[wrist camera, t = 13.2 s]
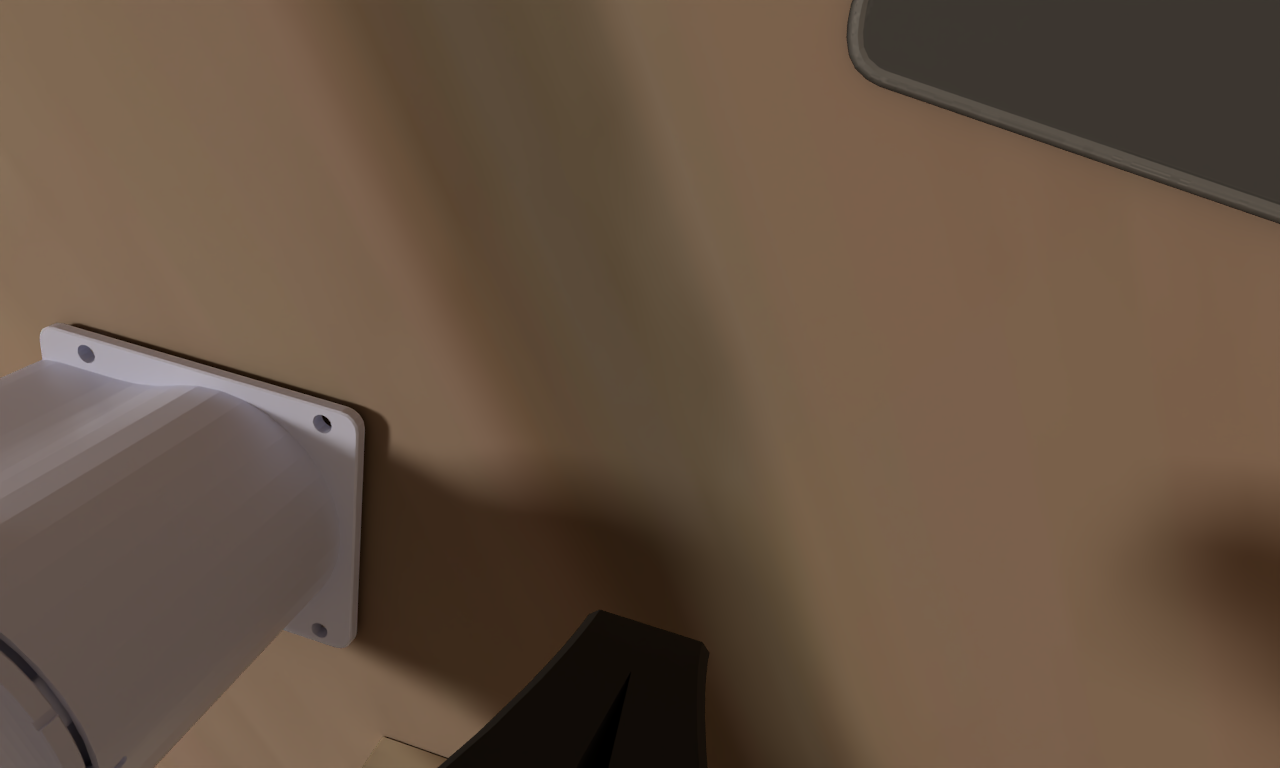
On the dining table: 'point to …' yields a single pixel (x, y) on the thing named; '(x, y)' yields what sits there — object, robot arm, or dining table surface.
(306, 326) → the dining table surface
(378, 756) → the compartment tray
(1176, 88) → the smartphone
